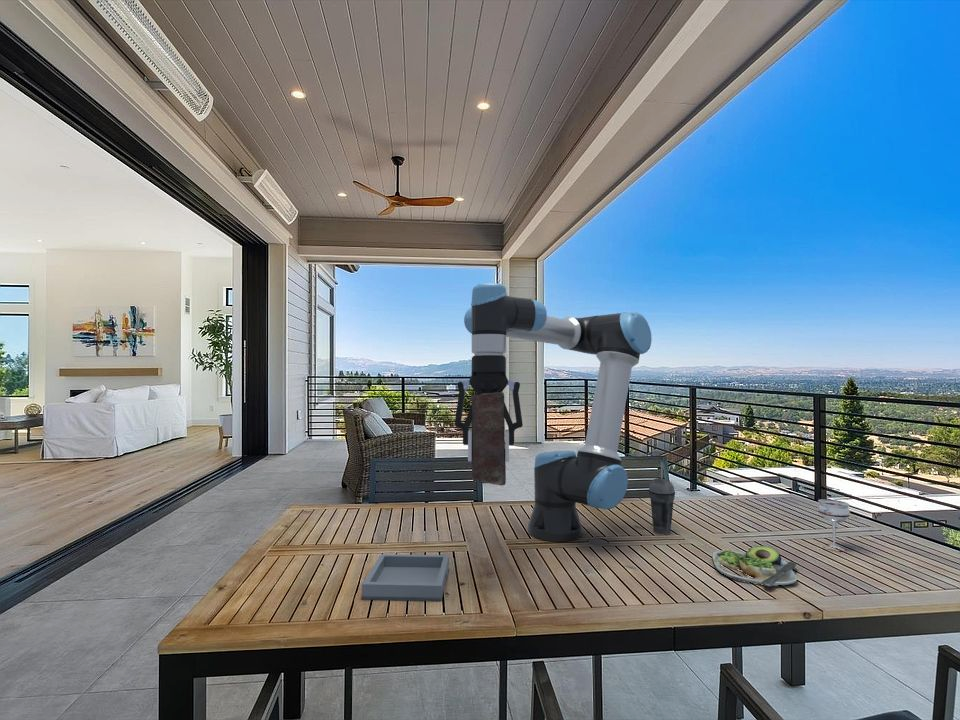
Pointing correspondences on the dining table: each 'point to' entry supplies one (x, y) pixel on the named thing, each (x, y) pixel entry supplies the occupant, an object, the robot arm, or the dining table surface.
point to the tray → (407, 578)
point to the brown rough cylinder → (488, 438)
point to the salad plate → (757, 566)
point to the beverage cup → (662, 504)
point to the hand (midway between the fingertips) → (488, 460)
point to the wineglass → (834, 513)
